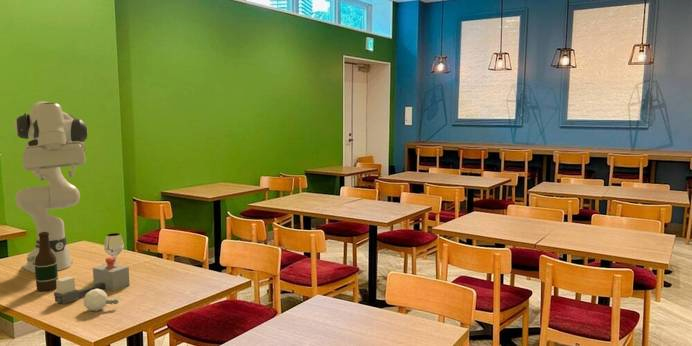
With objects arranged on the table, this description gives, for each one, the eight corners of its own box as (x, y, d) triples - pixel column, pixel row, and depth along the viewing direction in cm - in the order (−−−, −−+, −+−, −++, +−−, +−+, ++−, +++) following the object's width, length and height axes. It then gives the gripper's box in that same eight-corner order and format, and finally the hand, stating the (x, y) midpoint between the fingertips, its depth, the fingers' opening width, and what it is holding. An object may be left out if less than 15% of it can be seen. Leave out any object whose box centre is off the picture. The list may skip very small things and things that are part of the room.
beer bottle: (48, 293, 203) (44, 235, 200) (32, 291, 204) (27, 234, 202) (62, 286, 210) (59, 230, 208) (47, 285, 212) (43, 229, 209)
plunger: (104, 279, 210) (103, 259, 209) (112, 277, 214) (111, 257, 212) (110, 280, 209) (109, 260, 208) (118, 278, 212) (116, 258, 211)
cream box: (54, 301, 192) (52, 279, 191) (69, 296, 198) (67, 275, 197) (64, 304, 190) (62, 282, 189) (78, 299, 195) (77, 277, 194)
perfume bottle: (86, 296, 190) (121, 297, 193) (81, 315, 184) (116, 315, 187) (85, 284, 185) (120, 285, 188) (79, 303, 179) (116, 304, 182)
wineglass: (126, 274, 227) (124, 235, 225) (107, 277, 222) (105, 237, 220) (123, 269, 234) (121, 231, 231) (104, 272, 229) (102, 234, 227)
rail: (57, 303, 192) (56, 297, 191) (101, 288, 208) (101, 282, 208) (61, 304, 191) (60, 298, 190) (105, 289, 207) (105, 283, 207)
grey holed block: (93, 286, 211) (92, 268, 210) (110, 280, 218) (109, 262, 217) (113, 291, 205) (112, 272, 204) (129, 285, 212) (128, 266, 211)
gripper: (85, 143, 194) (89, 176, 190) (23, 148, 186) (27, 184, 183) (83, 137, 188) (87, 172, 185) (19, 143, 180) (22, 179, 177)
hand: (56, 178), depth 184 cm, fingers open, 8 cm apart
